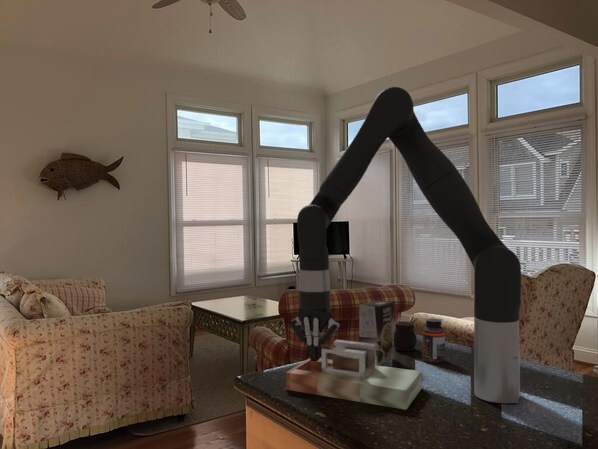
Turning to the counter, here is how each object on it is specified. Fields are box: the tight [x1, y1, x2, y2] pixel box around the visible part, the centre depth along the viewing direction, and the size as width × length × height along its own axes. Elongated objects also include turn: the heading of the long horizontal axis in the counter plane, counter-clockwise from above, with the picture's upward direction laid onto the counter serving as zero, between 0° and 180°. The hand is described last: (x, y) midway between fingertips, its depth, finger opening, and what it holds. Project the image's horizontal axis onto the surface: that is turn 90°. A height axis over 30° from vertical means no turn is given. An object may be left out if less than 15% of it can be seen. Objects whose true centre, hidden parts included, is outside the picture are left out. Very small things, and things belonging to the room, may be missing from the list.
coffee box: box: [358, 299, 395, 366], centre depth 137 cm, size 9×6×16 cm
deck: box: [285, 357, 422, 411], centre depth 115 cm, size 28×14×4 cm, turn 64°
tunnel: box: [321, 339, 376, 380], centre depth 115 cm, size 10×9×6 cm
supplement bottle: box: [422, 318, 446, 364], centre depth 137 cm, size 6×6×11 cm
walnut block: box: [332, 354, 366, 371], centre depth 115 cm, size 6×6×4 cm
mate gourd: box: [394, 317, 418, 352], centre depth 149 cm, size 7×8×10 cm
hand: (314, 360), depth 119 cm, fingers closed
